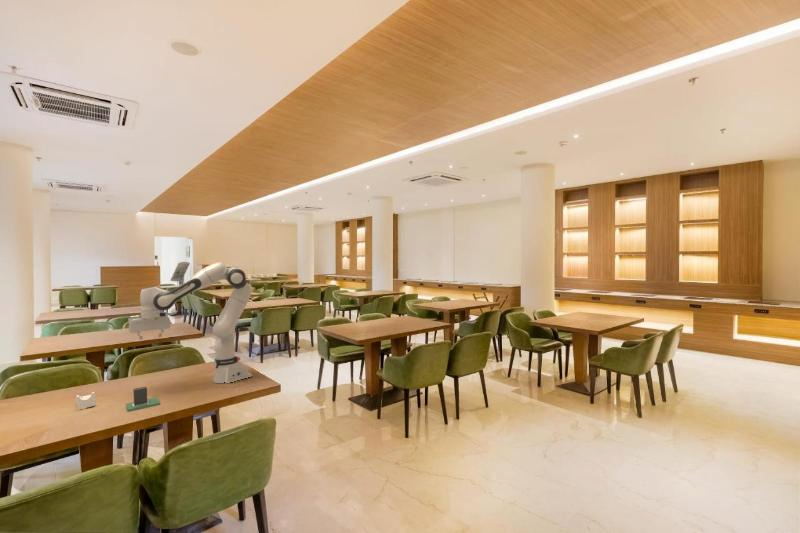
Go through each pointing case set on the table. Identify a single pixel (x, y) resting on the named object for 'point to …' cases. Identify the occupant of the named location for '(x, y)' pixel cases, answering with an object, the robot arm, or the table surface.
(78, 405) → the bracket
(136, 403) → the block
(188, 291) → the robot arm
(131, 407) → the header board
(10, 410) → the table surface
